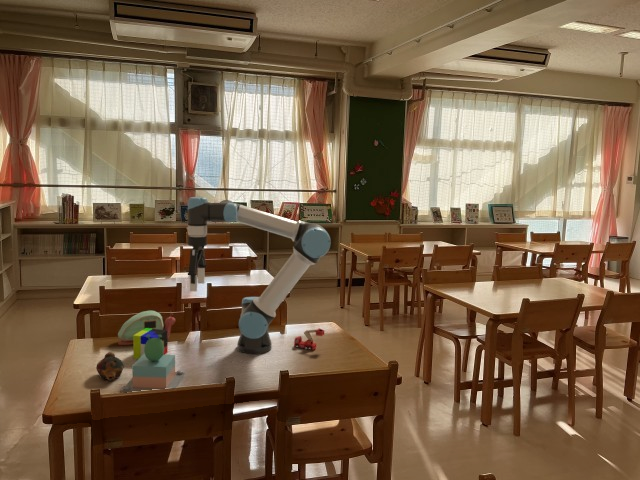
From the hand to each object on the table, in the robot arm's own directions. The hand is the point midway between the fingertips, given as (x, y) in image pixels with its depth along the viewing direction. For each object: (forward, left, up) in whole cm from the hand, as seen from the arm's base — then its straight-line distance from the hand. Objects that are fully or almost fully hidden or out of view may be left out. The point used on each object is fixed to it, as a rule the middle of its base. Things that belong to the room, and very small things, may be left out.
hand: (197, 287), depth 216 cm
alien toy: (+10, +25, -22) cm, 35 cm away
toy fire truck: (-46, -17, -31) cm, 58 cm away
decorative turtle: (+28, +21, -31) cm, 47 cm away
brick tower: (+10, +25, -31) cm, 41 cm away
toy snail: (+27, -19, -31) cm, 46 cm away
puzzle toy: (+20, -2, -31) cm, 37 cm away
